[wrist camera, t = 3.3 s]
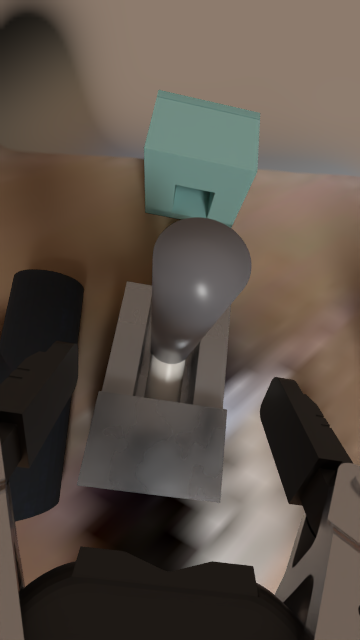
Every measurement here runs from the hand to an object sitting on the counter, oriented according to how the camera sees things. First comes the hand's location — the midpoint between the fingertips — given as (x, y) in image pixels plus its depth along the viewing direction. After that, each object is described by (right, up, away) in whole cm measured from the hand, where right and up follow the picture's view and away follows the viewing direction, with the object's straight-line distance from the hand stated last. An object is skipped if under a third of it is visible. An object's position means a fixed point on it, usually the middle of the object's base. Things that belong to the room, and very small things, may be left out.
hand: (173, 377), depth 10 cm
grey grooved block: (-1, -3, +11) cm, 11 cm away
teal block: (+2, +15, +17) cm, 23 cm away
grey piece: (0, +2, +11) cm, 11 cm away
